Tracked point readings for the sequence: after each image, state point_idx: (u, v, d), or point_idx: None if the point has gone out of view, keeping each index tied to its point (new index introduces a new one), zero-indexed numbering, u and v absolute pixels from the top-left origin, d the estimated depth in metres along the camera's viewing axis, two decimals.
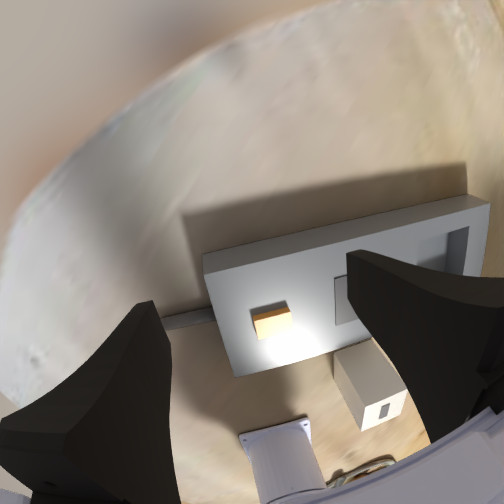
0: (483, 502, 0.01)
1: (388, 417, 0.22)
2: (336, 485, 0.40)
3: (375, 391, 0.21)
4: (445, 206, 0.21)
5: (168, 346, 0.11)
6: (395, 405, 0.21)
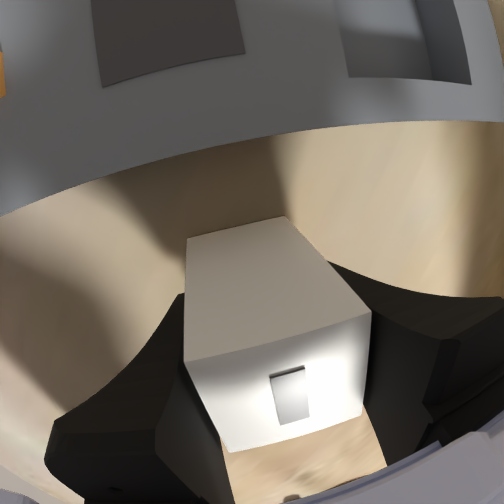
0: (483, 502, 0.01)
1: (321, 422, 0.07)
2: None
3: (244, 315, 0.07)
4: None
5: None
6: (334, 381, 0.07)
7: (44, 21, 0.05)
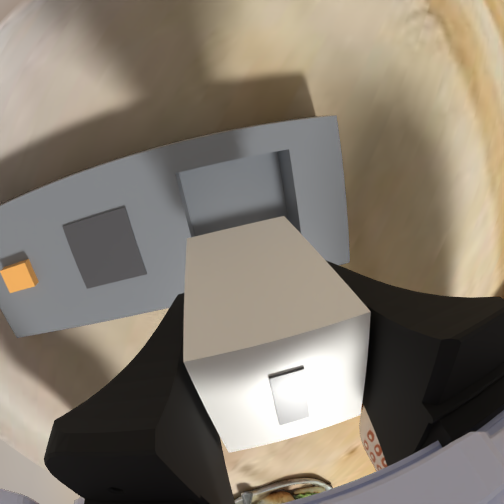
0: (483, 502, 0.01)
1: (320, 422, 0.07)
2: (244, 500, 0.34)
3: (244, 314, 0.07)
4: (246, 127, 0.16)
5: None
6: (333, 381, 0.07)
7: (47, 248, 0.15)
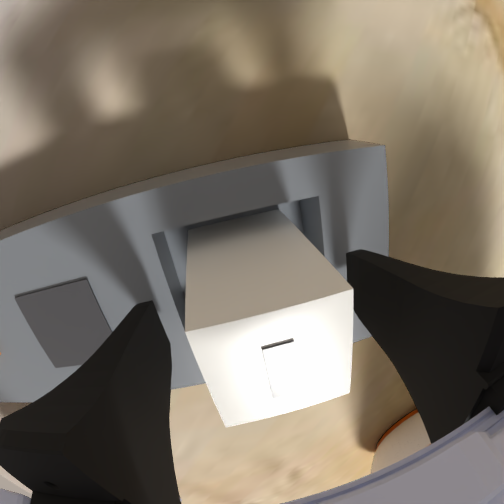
0: (483, 502, 0.01)
1: (311, 397, 0.08)
2: None
3: (239, 292, 0.08)
4: (255, 158, 0.11)
5: (168, 346, 0.11)
6: (321, 356, 0.08)
7: (2, 320, 0.10)
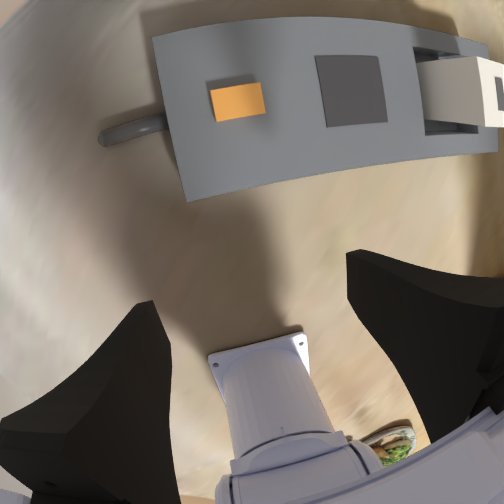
0: (483, 502, 0.01)
1: None
2: None
3: None
4: None
5: (168, 346, 0.11)
6: None
7: (289, 75, 0.14)
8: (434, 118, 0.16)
